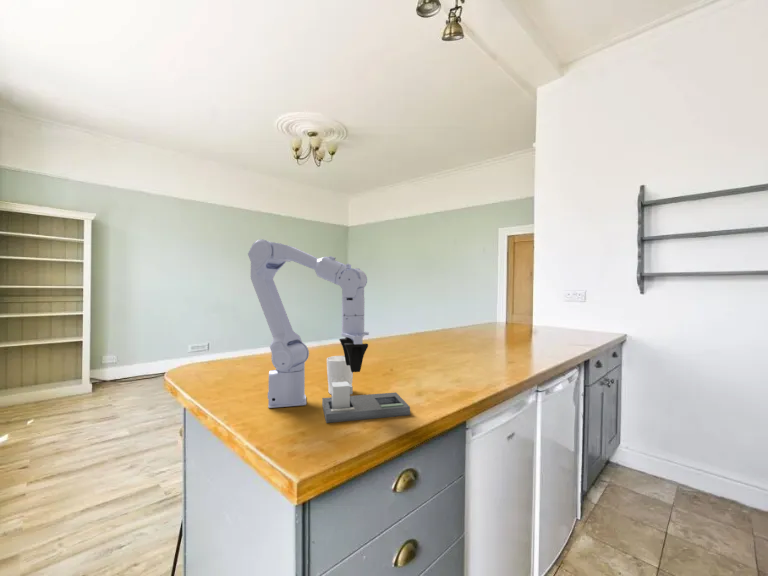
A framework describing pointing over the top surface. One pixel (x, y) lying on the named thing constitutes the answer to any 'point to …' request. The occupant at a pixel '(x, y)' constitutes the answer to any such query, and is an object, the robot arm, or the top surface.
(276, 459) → the top surface
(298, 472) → the top surface
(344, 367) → the white cup
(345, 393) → the plug
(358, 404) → the grey socket base
